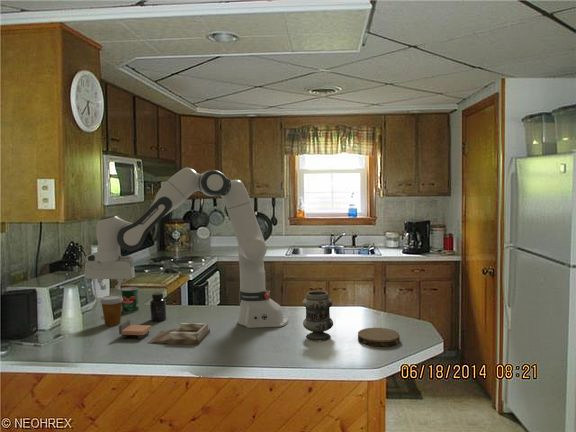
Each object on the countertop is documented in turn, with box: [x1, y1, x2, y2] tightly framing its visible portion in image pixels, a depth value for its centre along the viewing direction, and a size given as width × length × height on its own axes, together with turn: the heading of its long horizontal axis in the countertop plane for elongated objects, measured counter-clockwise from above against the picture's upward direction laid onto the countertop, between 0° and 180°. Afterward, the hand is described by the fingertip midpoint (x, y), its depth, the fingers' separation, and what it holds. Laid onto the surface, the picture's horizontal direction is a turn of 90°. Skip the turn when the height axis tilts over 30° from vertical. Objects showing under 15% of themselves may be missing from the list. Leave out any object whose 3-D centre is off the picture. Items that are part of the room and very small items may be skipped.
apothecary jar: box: [302, 290, 334, 342], centre depth 193 cm, size 12×12×18 cm
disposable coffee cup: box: [100, 294, 123, 327], centre depth 216 cm, size 10×10×12 cm
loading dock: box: [146, 322, 211, 346], centre depth 196 cm, size 21×15×5 cm
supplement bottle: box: [149, 292, 167, 322], centre depth 222 cm, size 7×7×12 cm
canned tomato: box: [120, 286, 140, 314], centre depth 238 cm, size 8×8×11 cm
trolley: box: [118, 319, 152, 340], centre depth 198 cm, size 10×8×6 cm
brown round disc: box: [357, 327, 401, 349], centre depth 189 cm, size 16×16×3 cm
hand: (110, 289), depth 198 cm, fingers open, 5 cm apart
